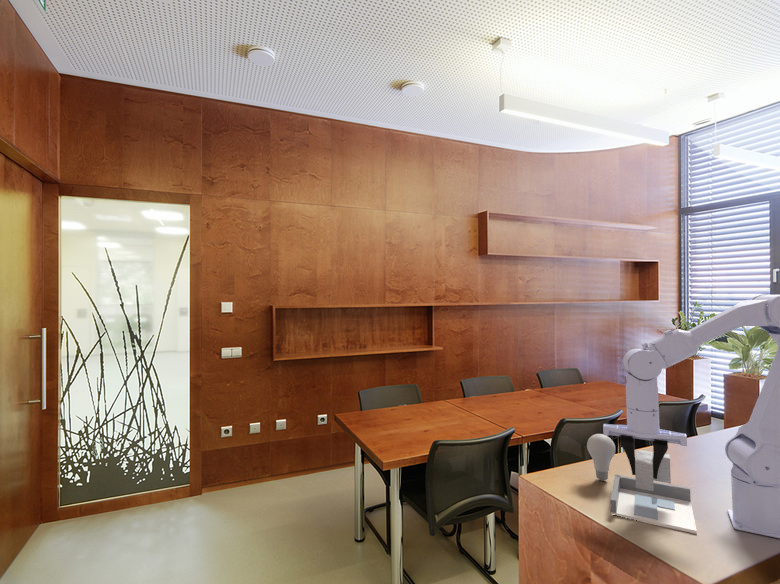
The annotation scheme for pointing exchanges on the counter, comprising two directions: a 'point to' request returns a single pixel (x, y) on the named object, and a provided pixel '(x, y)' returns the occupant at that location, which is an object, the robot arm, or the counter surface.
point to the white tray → (653, 504)
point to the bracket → (650, 470)
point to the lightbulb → (601, 454)
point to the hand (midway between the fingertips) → (644, 475)
